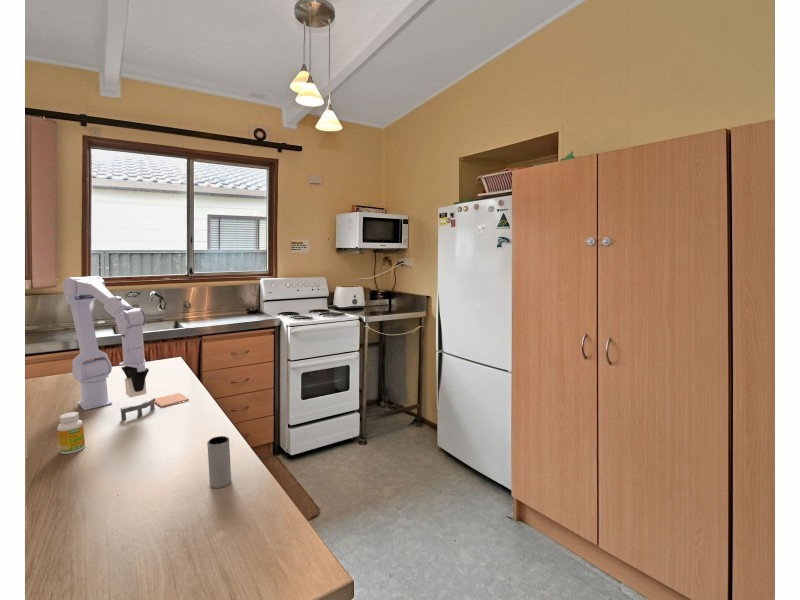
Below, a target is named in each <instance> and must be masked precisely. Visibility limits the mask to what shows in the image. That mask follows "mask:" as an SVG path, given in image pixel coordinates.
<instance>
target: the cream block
mask: <svg viewBox="0 0 800 600" xmlns="http://www.w3.org/2000/svg"><path fill="white" fill-rule="evenodd" d="M146 383H147V382H146V381H145V382H144V388H143V391H138V392H135V390H134V387H133V383H132V380H131V378H127V377H126V378H124V386H125V394H126V395H127V397H129V398H135V397H139V396H140V397H141V396H143V395H147V386H146Z"/></svg>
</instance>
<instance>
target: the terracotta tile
mask: <svg viewBox="0 0 800 600" xmlns="http://www.w3.org/2000/svg"><path fill="white" fill-rule="evenodd" d="M187 400H189V401H190V398H189V397H186V396H185V395H184V394H182V393H180V392H178V393H173V394H169V395H165V396H161V397H157V398H156V397H155V403H154V404H156V405H157V406H158V405H159V407H160V408H165V407H168V406H167V405H169V406H172V405H171V404H173V405H176V404H175V403H177V404H180V403H179V402H181V403H184V402H183V401H185V402H188V401H187ZM164 406H165V407H164Z"/></svg>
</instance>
